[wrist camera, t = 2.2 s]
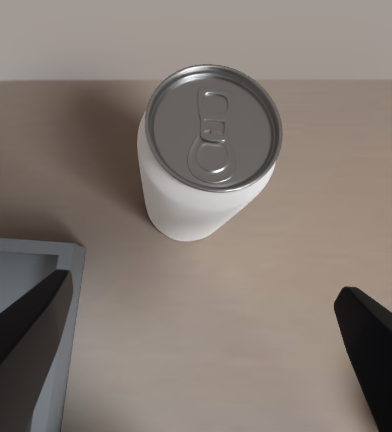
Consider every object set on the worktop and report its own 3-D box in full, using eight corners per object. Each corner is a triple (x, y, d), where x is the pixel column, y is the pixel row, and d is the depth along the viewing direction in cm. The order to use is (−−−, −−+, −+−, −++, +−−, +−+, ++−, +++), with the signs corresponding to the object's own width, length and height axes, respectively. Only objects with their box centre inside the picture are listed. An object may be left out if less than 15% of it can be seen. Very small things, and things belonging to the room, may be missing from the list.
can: (141, 239, 22) (124, 194, 10) (149, 160, 24) (141, 43, 12) (224, 245, 23) (294, 210, 11) (227, 168, 24) (291, 66, 13)
